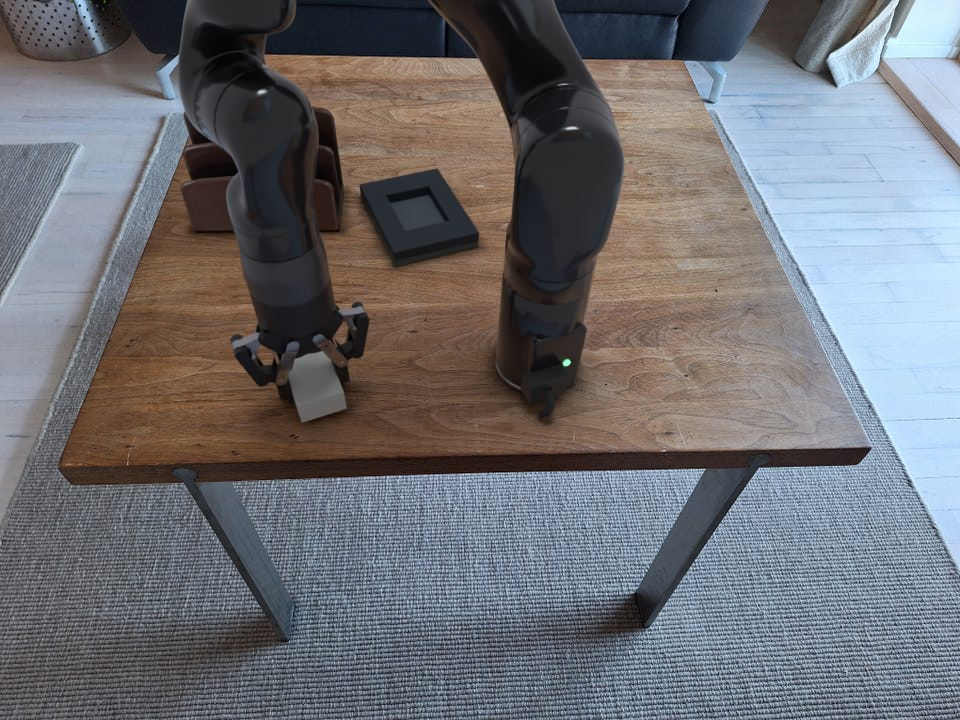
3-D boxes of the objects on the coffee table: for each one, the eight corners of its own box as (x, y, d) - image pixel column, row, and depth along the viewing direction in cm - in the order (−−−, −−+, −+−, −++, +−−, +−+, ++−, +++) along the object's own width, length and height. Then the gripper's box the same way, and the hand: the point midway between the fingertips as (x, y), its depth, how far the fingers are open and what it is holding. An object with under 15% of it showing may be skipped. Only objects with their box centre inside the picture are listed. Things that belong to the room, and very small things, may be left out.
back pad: (478, 246, 96) (479, 232, 94) (395, 267, 93) (394, 252, 91) (437, 182, 105) (437, 168, 104) (360, 198, 102) (359, 184, 100)
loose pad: (347, 408, 76) (343, 391, 74) (301, 423, 75) (297, 406, 72) (329, 363, 80) (325, 346, 78) (286, 376, 79) (281, 359, 77)
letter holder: (207, 189, 102) (180, 99, 91) (344, 189, 103) (333, 100, 93) (193, 233, 96) (161, 141, 85) (339, 232, 97) (326, 142, 86)
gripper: (215, 323, 60) (257, 436, 73) (375, 281, 64) (388, 395, 77) (201, 269, 65) (243, 385, 77) (351, 233, 69) (367, 348, 81)
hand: (315, 389), depth 77 cm, fingers closed on loose pad, 5 cm apart
